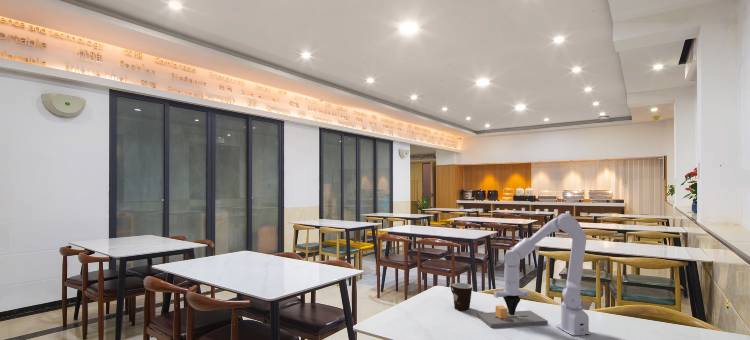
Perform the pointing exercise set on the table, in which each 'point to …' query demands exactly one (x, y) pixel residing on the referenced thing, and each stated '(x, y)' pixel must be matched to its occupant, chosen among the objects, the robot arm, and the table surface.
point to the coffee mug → (461, 296)
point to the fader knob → (501, 311)
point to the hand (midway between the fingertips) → (511, 314)
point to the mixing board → (512, 319)
